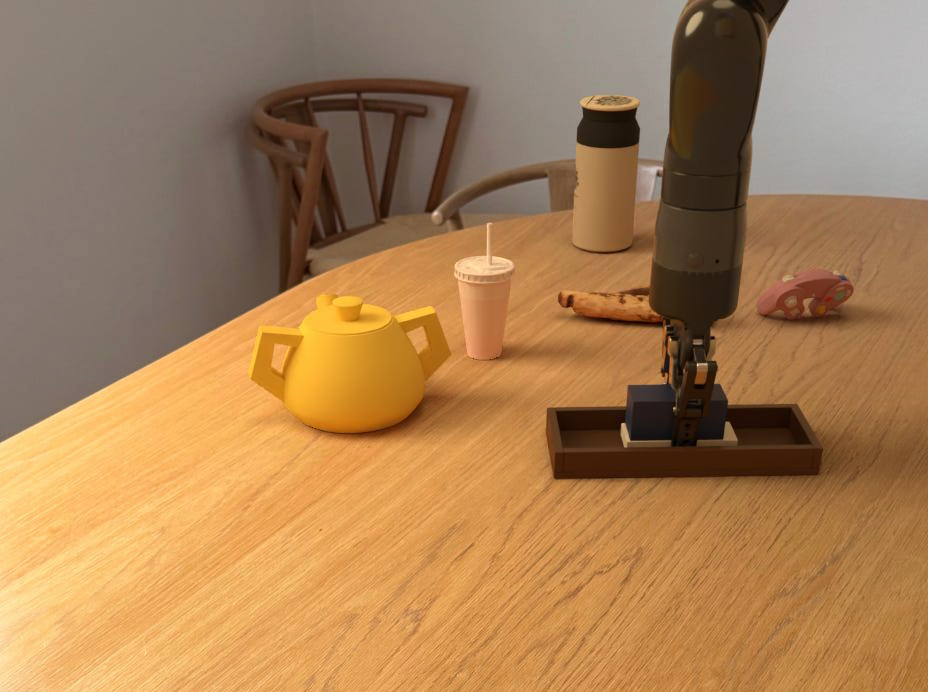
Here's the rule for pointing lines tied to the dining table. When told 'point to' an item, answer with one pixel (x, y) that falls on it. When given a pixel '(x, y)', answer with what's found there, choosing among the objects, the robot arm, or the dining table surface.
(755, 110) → the robot arm
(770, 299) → the video game controller
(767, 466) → the shallow brown tray
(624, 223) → the travel mug
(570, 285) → the dining table surface
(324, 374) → the teapot
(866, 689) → the dining table surface
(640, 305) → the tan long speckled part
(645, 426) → the navy block
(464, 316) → the smoothie
